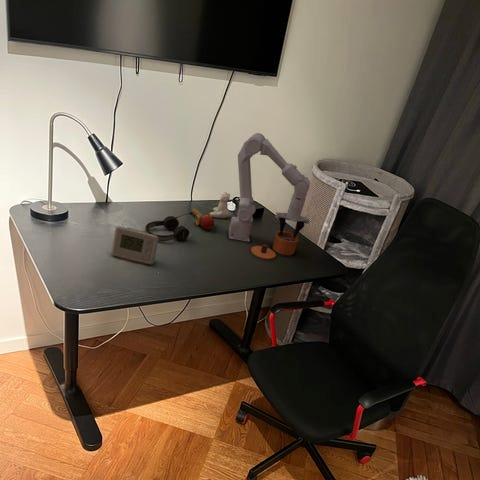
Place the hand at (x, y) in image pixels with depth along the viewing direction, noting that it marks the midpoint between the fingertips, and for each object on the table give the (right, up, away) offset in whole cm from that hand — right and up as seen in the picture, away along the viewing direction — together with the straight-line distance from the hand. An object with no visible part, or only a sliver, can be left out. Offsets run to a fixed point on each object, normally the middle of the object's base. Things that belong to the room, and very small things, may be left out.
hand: (287, 235), depth 206 cm
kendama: (-38, +7, +9) cm, 40 cm away
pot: (-2, -6, +4) cm, 7 cm away
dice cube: (-1, -6, +4) cm, 7 cm away
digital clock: (-60, -14, -30) cm, 69 cm away
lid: (-11, -8, -4) cm, 14 cm away
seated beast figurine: (-30, +13, +21) cm, 39 cm away
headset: (-51, -1, -8) cm, 52 cm away
